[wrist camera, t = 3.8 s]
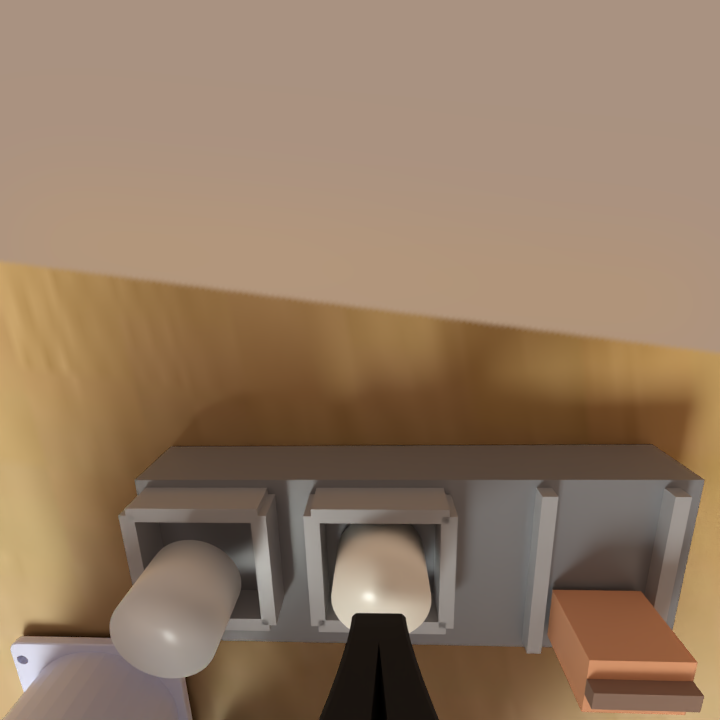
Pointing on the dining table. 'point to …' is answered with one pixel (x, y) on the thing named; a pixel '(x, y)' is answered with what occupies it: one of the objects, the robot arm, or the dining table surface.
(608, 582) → the control panel
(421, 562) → the cream button
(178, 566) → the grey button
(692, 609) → the dining table surface
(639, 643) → the slider switch
